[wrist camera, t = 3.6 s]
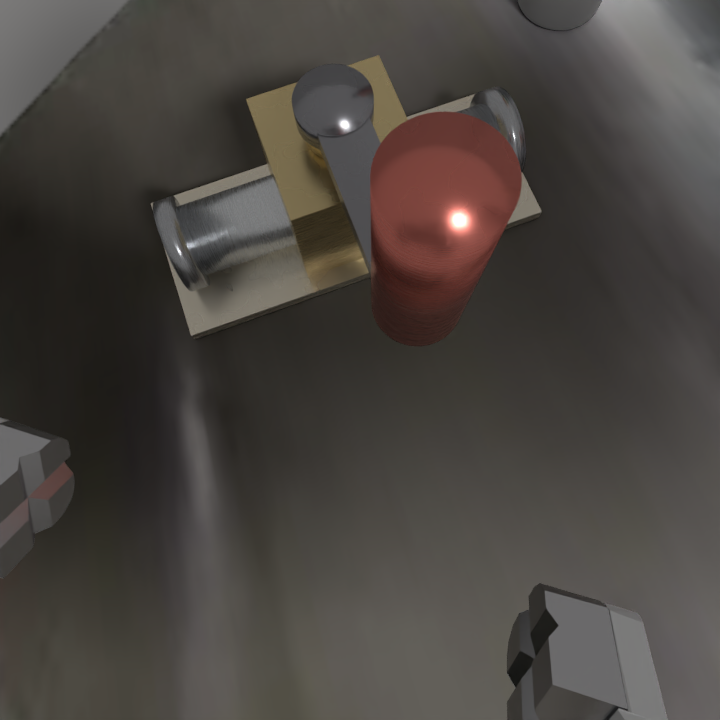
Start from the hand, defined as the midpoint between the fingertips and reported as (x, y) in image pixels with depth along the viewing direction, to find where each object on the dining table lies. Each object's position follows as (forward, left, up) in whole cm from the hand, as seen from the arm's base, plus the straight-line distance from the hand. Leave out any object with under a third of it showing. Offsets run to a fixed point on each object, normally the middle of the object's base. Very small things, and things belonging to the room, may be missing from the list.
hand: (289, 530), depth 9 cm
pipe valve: (-6, -16, -21) cm, 27 cm away
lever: (-6, -11, -12) cm, 18 cm away
